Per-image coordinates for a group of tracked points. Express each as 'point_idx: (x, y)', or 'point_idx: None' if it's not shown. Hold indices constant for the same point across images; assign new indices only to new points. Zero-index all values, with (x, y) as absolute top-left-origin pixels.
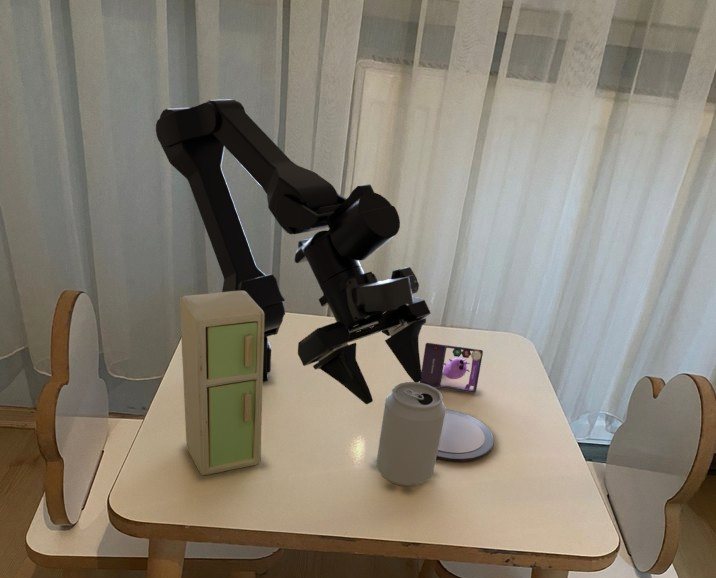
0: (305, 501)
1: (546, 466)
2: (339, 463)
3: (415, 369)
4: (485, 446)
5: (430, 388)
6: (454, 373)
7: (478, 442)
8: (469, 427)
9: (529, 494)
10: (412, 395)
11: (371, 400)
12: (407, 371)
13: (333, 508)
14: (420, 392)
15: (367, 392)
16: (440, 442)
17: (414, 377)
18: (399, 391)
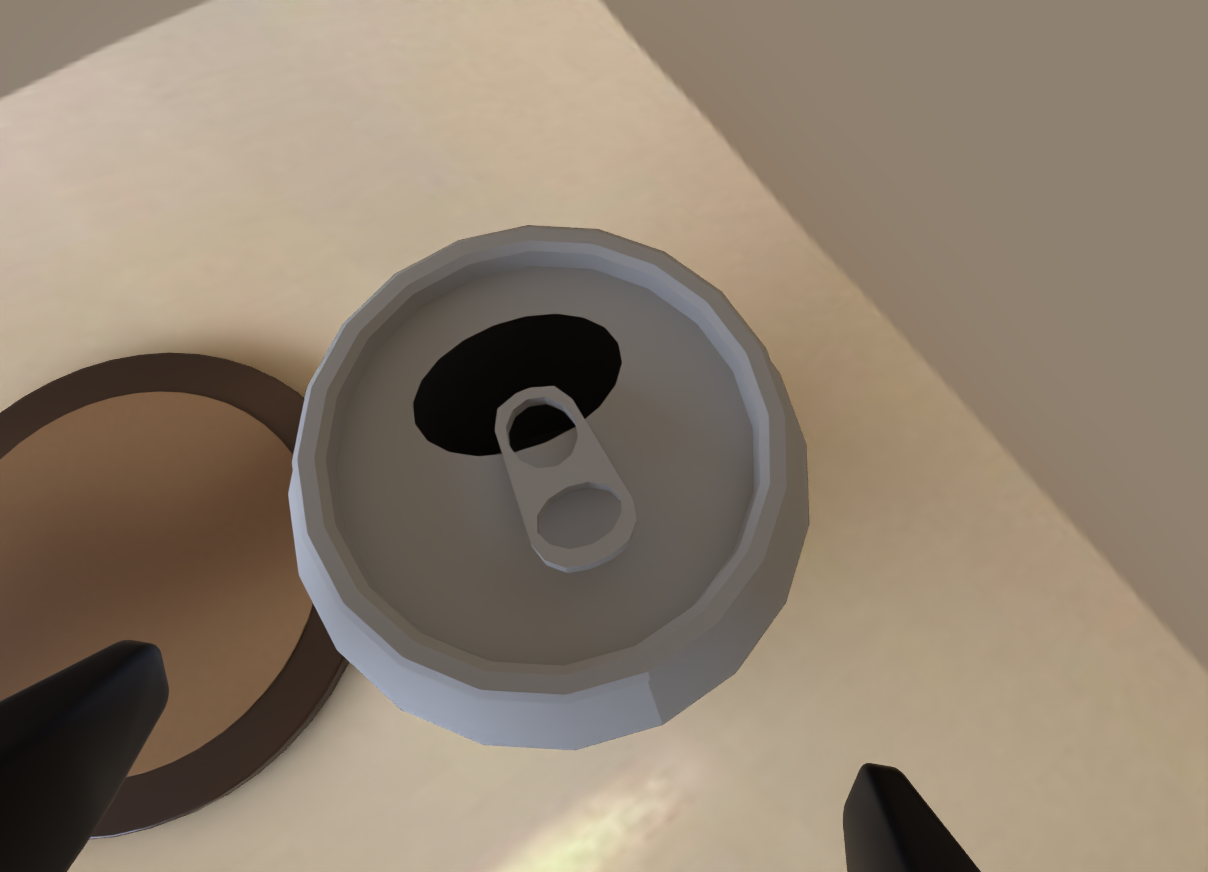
0: (1081, 782)
1: (127, 159)
2: (733, 861)
3: (58, 740)
4: (145, 378)
5: (332, 420)
6: None
7: (132, 414)
8: (16, 510)
9: (358, 140)
10: (598, 461)
11: (884, 769)
12: (70, 849)
13: (1010, 650)
14: (438, 473)
15: (944, 844)
16: (248, 549)
17: (129, 725)
18: (567, 635)
